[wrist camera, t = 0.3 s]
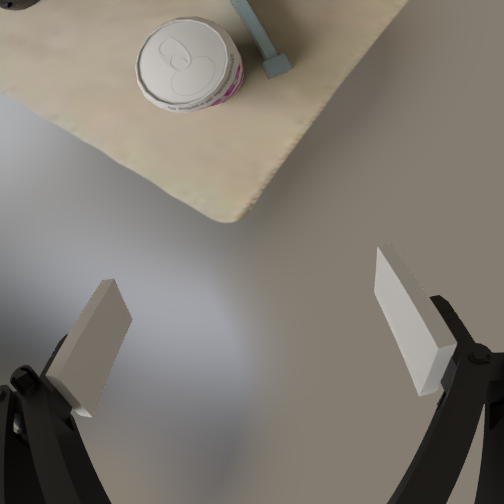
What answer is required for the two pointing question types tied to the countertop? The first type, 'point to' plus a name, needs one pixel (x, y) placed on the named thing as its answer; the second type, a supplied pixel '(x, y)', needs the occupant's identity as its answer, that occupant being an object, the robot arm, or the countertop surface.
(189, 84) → the supplement can
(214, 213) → the countertop surface
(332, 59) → the countertop surface
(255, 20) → the handle
